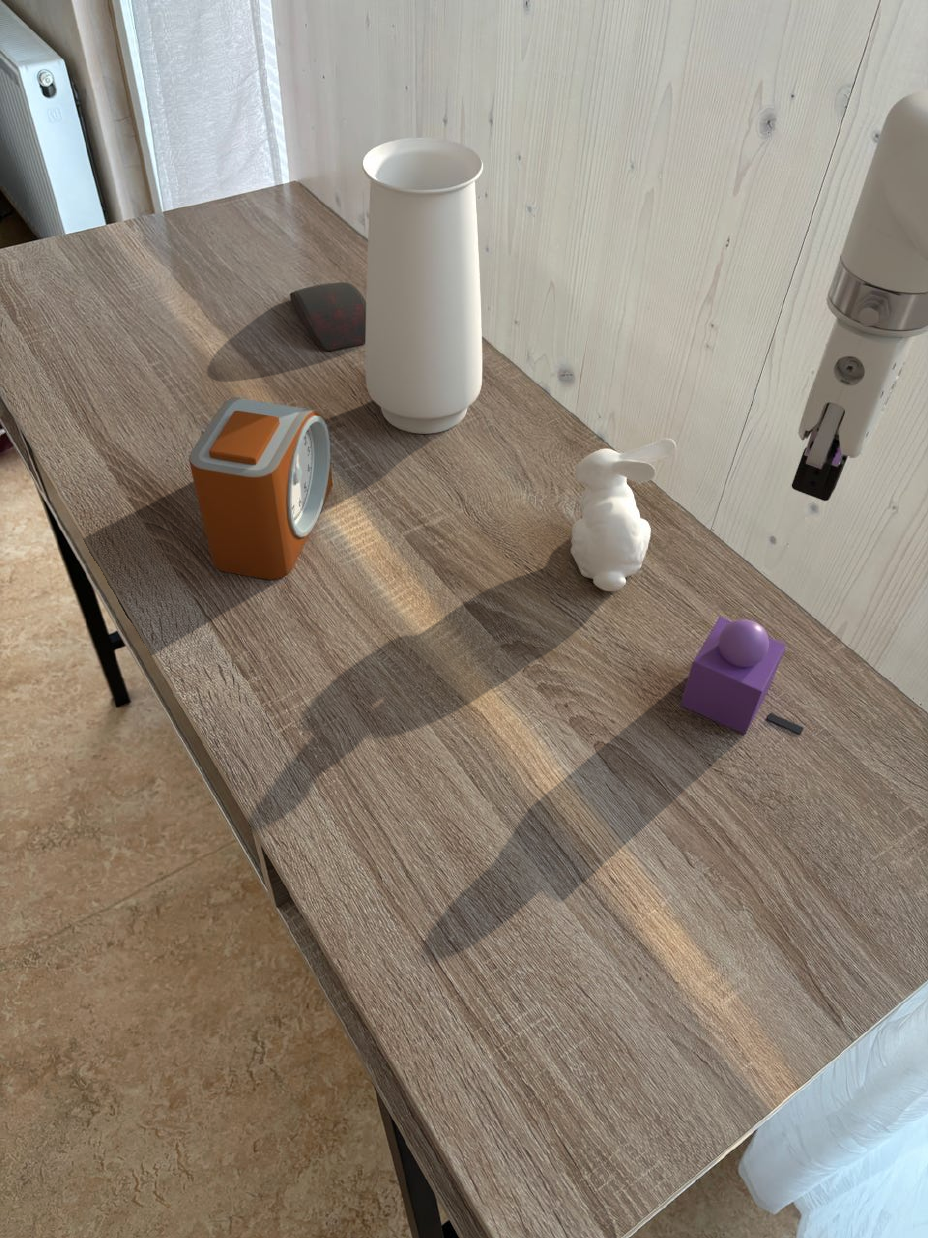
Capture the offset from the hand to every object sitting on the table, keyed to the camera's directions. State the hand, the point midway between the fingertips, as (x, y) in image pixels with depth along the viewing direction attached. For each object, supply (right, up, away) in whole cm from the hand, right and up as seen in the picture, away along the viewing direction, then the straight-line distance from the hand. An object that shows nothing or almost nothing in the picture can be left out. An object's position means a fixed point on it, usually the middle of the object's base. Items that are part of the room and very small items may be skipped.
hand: (812, 489), depth 84 cm
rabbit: (-15, -4, +17) cm, 23 cm away
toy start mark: (-1, -20, +3) cm, 20 cm away
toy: (-6, -18, +5) cm, 19 cm away
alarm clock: (-48, -1, +19) cm, 52 cm away
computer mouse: (-46, +27, +44) cm, 69 cm away
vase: (-33, +13, +32) cm, 48 cm away
